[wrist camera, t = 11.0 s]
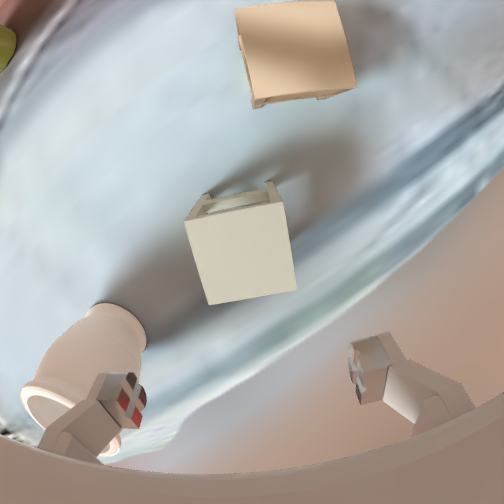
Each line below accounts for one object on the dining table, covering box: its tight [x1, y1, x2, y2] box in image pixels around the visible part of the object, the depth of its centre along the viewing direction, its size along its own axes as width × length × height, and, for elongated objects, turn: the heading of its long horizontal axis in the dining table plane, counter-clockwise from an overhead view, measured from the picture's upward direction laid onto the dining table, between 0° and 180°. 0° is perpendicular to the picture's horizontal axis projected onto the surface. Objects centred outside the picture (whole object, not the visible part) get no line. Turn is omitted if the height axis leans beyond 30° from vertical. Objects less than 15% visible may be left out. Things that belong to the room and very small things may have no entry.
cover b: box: [184, 181, 297, 305], centre depth 23 cm, size 6×6×8 cm
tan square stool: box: [235, 1, 357, 109], centre depth 18 cm, size 6×6×8 cm
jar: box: [20, 303, 146, 457], centre depth 25 cm, size 11×10×15 cm
